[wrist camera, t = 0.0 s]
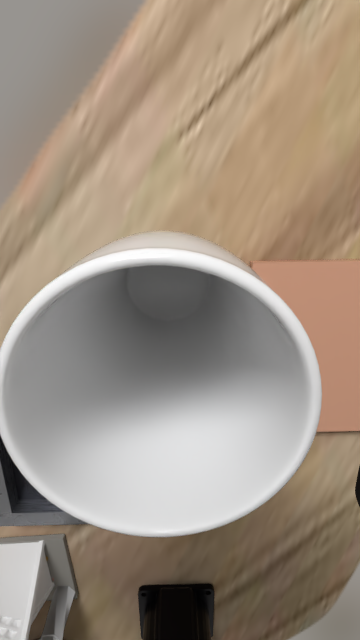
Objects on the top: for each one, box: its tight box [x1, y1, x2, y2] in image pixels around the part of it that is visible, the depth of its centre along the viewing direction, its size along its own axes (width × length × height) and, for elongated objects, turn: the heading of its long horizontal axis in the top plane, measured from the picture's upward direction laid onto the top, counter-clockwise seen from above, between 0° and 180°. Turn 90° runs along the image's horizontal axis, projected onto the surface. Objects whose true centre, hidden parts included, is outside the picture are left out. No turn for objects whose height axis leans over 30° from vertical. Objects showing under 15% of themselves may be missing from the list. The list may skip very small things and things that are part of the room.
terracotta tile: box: [250, 259, 360, 432], centre depth 22 cm, size 12×10×1 cm
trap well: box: [0, 435, 88, 526], centre depth 24 cm, size 12×10×2 cm
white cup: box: [0, 230, 322, 537], centre depth 14 cm, size 7×7×15 cm
